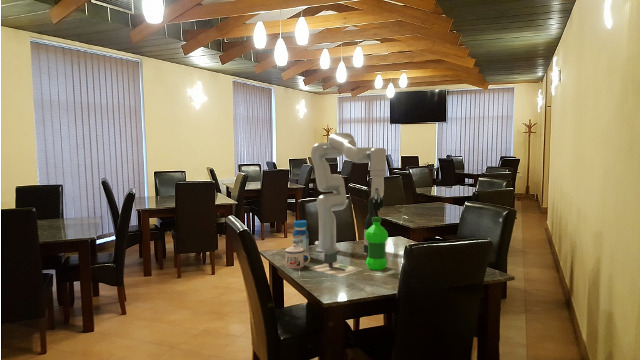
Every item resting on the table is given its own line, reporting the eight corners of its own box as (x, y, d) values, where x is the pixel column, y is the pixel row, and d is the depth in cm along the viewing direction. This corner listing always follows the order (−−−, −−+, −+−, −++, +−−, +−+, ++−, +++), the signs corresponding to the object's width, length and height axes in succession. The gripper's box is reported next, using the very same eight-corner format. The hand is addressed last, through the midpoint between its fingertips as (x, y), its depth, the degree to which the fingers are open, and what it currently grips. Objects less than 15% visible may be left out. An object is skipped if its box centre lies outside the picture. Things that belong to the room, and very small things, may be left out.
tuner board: (308, 270, 215) (308, 268, 215) (330, 264, 227) (330, 261, 227) (340, 279, 202) (340, 276, 202) (363, 271, 214) (363, 268, 213)
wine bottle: (362, 250, 257) (362, 196, 255) (377, 249, 258) (377, 196, 256) (365, 253, 249) (365, 198, 247) (380, 253, 250) (380, 198, 247)
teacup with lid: (283, 270, 217) (282, 246, 216) (287, 265, 226) (287, 242, 225) (308, 271, 215) (307, 246, 214) (311, 266, 224) (311, 242, 223)
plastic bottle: (387, 273, 210) (387, 219, 208) (364, 273, 211) (364, 219, 209) (388, 268, 219) (388, 216, 217) (365, 267, 221) (365, 215, 219)
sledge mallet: (324, 268, 215) (324, 253, 214) (332, 265, 219) (332, 251, 219) (340, 272, 208) (340, 257, 208) (348, 269, 213) (348, 254, 212)
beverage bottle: (312, 259, 237) (312, 220, 236) (300, 262, 231) (300, 223, 230) (300, 256, 243) (300, 219, 241) (289, 259, 237) (288, 221, 235)
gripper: (373, 172, 229) (373, 206, 230) (367, 174, 212) (367, 211, 214) (388, 172, 227) (388, 207, 228) (383, 174, 211) (383, 211, 212)
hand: (378, 209), depth 221 cm, fingers open, 9 cm apart
